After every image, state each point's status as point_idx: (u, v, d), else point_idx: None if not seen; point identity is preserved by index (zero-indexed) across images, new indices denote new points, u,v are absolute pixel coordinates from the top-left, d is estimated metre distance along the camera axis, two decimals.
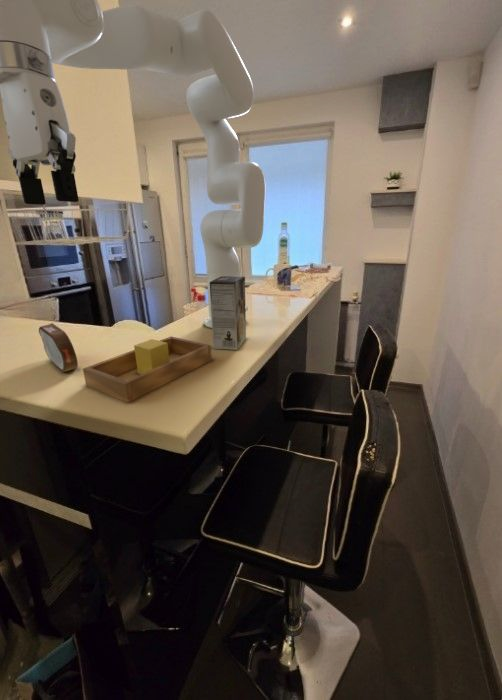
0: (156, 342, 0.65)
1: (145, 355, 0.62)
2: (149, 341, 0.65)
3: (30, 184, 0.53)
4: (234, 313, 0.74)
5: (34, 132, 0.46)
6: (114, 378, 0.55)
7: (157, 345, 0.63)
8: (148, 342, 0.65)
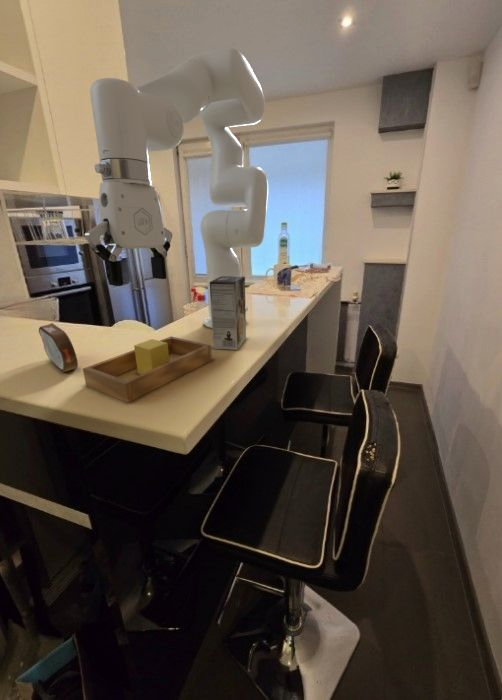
0: (156, 342, 0.65)
1: (145, 355, 0.62)
2: (149, 341, 0.65)
3: (155, 263, 0.62)
4: (234, 313, 0.74)
5: None
6: (114, 378, 0.55)
7: (157, 345, 0.63)
8: (148, 342, 0.65)
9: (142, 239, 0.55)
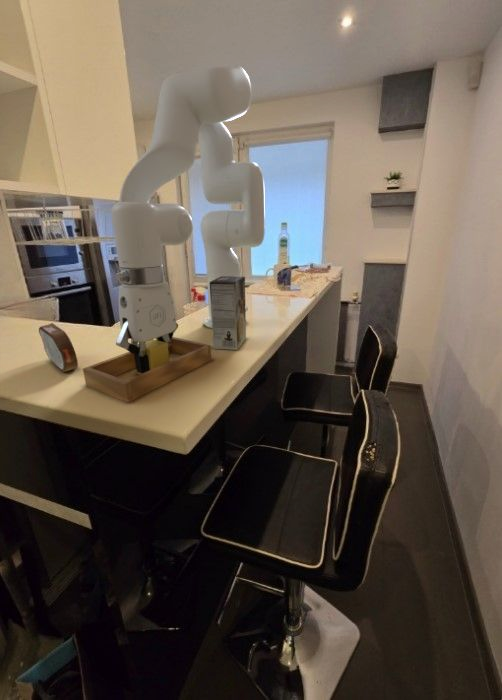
0: (156, 342, 0.65)
1: None
2: (149, 341, 0.65)
3: None
4: (234, 313, 0.74)
5: None
6: (114, 378, 0.55)
7: (157, 345, 0.63)
8: (148, 342, 0.65)
9: (157, 331, 0.61)
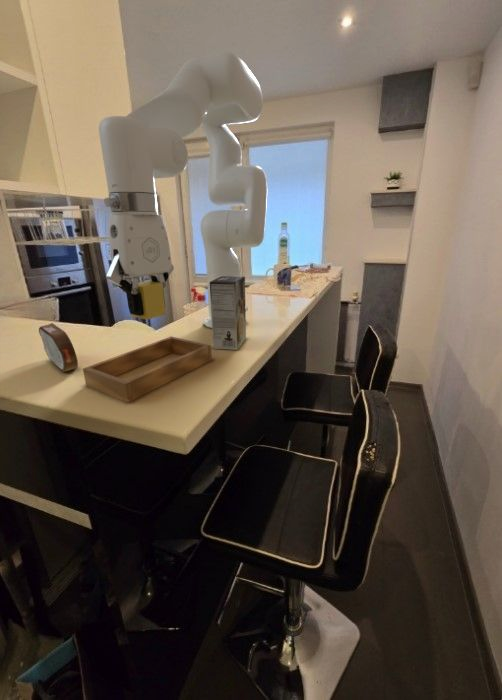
0: (150, 282, 0.61)
1: None
2: (143, 282, 0.62)
3: None
4: (234, 313, 0.74)
5: None
6: (114, 378, 0.55)
7: (151, 284, 0.59)
8: (142, 282, 0.61)
9: (150, 266, 0.57)
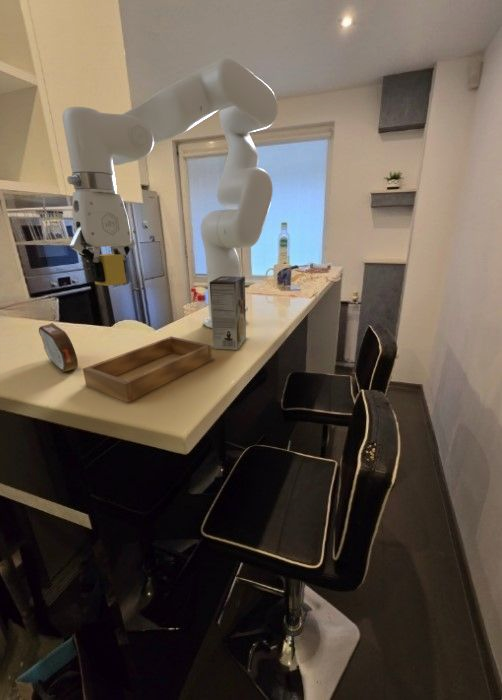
0: (112, 254, 0.69)
1: None
2: (105, 254, 0.70)
3: None
4: (234, 313, 0.74)
5: None
6: (114, 378, 0.55)
7: (112, 255, 0.68)
8: (104, 254, 0.69)
9: (110, 238, 0.66)
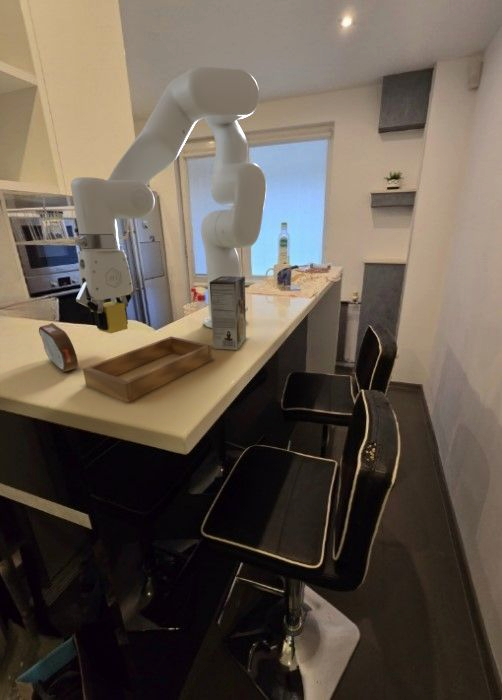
0: (114, 303, 0.75)
1: None
2: (108, 302, 0.75)
3: None
4: (234, 313, 0.74)
5: None
6: (114, 378, 0.55)
7: (114, 305, 0.73)
8: (107, 303, 0.75)
9: (113, 291, 0.71)
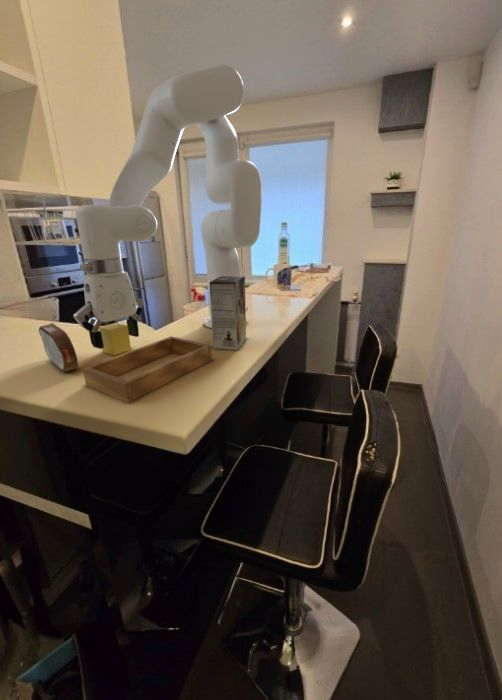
0: (118, 325, 0.76)
1: (107, 335, 0.74)
2: (112, 324, 0.77)
3: (129, 324, 0.80)
4: (234, 313, 0.74)
5: None
6: (114, 378, 0.55)
7: (118, 327, 0.75)
8: (111, 325, 0.76)
9: (117, 313, 0.73)
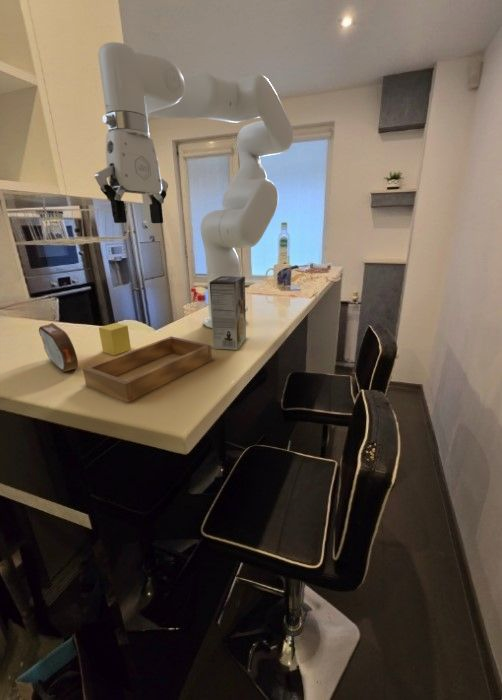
0: (118, 325, 0.76)
1: (107, 335, 0.74)
2: (112, 324, 0.77)
3: (153, 209, 0.72)
4: (234, 313, 0.74)
5: None
6: (114, 378, 0.55)
7: (118, 327, 0.75)
8: (111, 325, 0.76)
9: (142, 183, 0.65)
